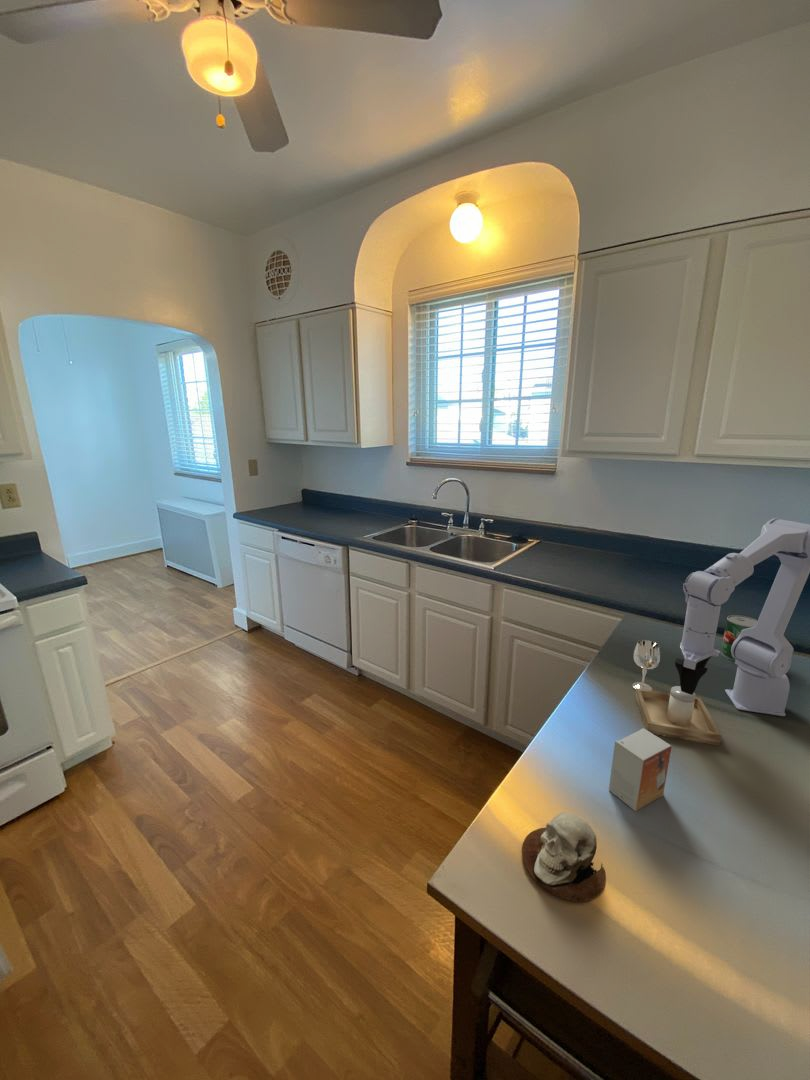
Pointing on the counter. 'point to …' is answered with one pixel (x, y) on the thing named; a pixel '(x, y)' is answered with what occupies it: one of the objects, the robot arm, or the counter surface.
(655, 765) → the small box
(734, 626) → the canned tomato
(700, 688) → the counter surface
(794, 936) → the counter surface
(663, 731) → the tray
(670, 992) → the counter surface
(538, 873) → the skull
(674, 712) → the shaker
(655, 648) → the wineglass
